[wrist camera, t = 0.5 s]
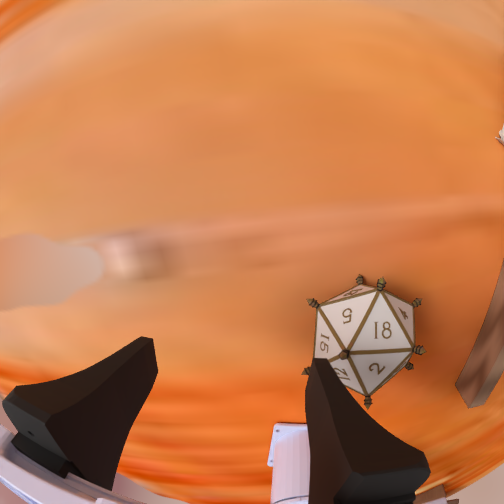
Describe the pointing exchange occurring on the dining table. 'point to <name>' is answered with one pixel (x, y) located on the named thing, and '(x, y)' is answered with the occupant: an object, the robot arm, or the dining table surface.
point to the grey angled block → (433, 496)
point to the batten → (485, 354)
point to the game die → (365, 336)
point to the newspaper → (503, 135)
